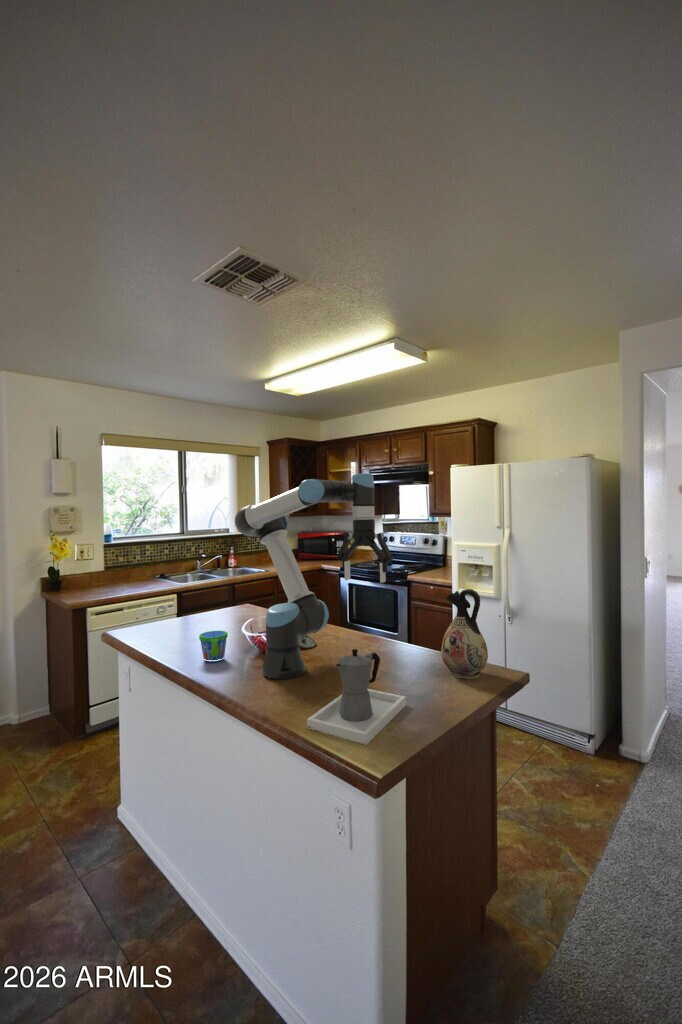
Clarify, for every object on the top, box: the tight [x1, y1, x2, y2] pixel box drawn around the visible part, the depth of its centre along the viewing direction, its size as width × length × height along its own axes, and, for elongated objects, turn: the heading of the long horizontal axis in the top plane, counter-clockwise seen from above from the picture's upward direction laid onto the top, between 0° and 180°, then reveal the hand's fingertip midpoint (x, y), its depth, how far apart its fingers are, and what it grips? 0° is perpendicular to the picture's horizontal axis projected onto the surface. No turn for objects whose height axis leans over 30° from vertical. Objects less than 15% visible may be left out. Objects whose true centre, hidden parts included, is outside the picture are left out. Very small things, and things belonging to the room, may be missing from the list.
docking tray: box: [306, 688, 407, 746], centre depth 126 cm, size 17×25×2 cm
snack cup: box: [198, 630, 228, 660], centre depth 177 cm, size 16×10×10 cm
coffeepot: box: [334, 648, 381, 722], centre depth 126 cm, size 15×9×18 cm, turn 126°
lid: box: [299, 635, 317, 650], centre depth 193 cm, size 11×10×5 cm
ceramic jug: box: [440, 588, 489, 680], centre depth 155 cm, size 17×15×30 cm
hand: (364, 580), depth 156 cm, fingers open, 13 cm apart
